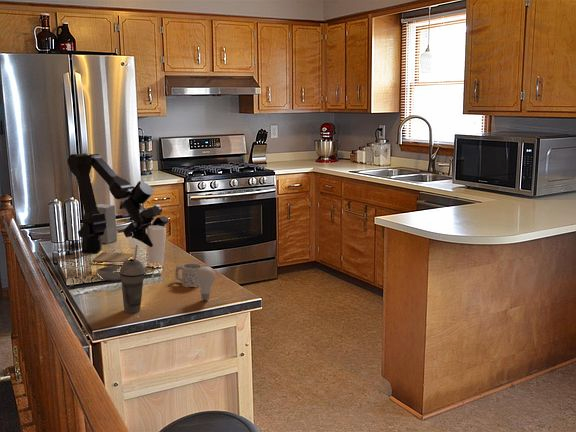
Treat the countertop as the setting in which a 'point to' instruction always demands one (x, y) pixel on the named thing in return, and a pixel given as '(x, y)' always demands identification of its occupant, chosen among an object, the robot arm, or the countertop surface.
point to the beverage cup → (132, 284)
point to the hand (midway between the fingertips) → (158, 244)
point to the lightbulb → (205, 281)
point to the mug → (188, 274)
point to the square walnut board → (112, 257)
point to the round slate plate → (109, 273)
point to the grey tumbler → (156, 243)
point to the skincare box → (108, 223)
